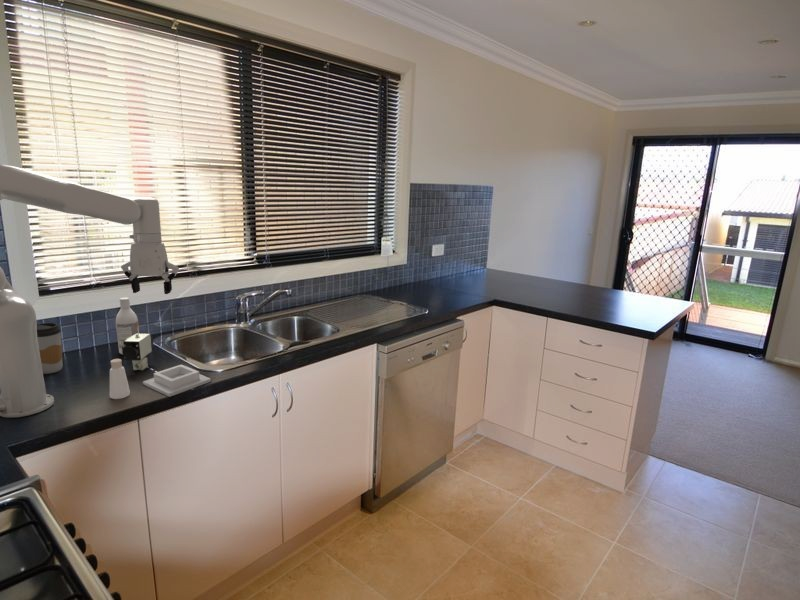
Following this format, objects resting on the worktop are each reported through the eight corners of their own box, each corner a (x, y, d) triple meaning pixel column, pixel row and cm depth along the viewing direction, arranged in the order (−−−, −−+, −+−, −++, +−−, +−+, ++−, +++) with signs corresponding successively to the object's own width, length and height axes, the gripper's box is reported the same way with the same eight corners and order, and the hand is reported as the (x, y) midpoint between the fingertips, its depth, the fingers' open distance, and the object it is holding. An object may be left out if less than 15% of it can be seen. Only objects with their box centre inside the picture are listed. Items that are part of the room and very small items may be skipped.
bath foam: (142, 353, 175) (136, 299, 170) (120, 356, 171) (114, 301, 166) (139, 347, 181) (134, 295, 176) (118, 350, 177) (112, 297, 172)
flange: (169, 396, 143) (168, 385, 142) (142, 384, 151) (141, 373, 150) (210, 381, 154) (210, 371, 153) (184, 370, 162) (183, 360, 161)
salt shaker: (133, 395, 143) (129, 360, 140) (112, 401, 139) (107, 365, 136) (127, 389, 147) (123, 355, 144) (107, 394, 143) (102, 359, 140)
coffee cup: (58, 363, 164) (51, 320, 160) (71, 368, 160) (65, 325, 156) (30, 371, 157) (22, 326, 153) (43, 377, 153) (36, 331, 149)
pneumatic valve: (155, 361, 168) (152, 328, 165) (139, 375, 157) (135, 340, 154) (139, 361, 168) (136, 328, 165) (121, 375, 156) (117, 339, 153)
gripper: (112, 238, 146) (117, 294, 150) (171, 241, 146) (175, 296, 151) (125, 235, 153) (130, 289, 157) (181, 238, 154) (184, 291, 158)
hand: (152, 292), depth 154 cm, fingers open, 9 cm apart
